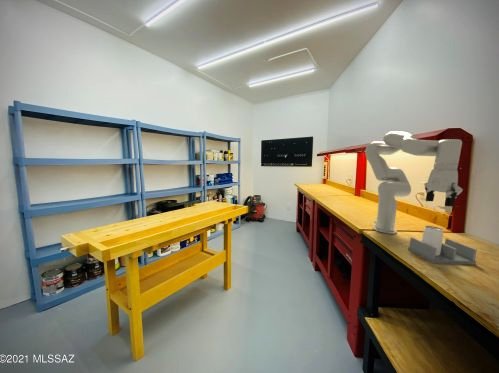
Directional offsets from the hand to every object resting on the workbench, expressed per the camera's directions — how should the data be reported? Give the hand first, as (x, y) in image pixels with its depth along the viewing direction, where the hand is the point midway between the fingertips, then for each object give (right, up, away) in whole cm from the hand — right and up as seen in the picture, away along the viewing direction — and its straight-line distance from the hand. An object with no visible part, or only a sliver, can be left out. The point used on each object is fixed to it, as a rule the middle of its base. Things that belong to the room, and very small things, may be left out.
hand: (438, 203), depth 89 cm
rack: (-2, -24, -2) cm, 24 cm away
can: (-6, -23, -2) cm, 24 cm away
